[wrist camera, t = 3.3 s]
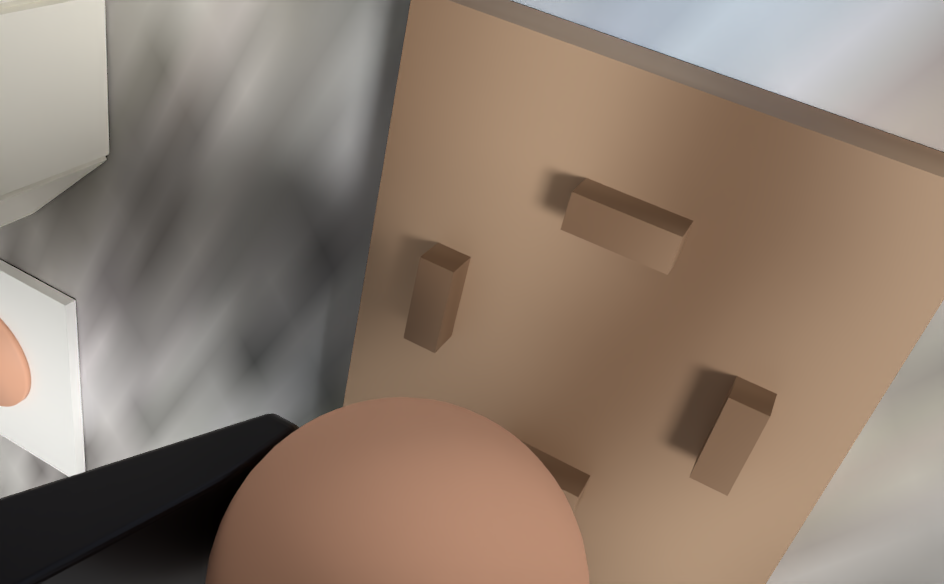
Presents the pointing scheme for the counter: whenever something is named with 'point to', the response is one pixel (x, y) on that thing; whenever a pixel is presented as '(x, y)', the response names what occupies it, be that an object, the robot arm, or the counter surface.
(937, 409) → the counter surface
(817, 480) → the stand
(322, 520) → the ball terracotta
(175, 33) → the counter surface
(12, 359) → the tile
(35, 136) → the cup
